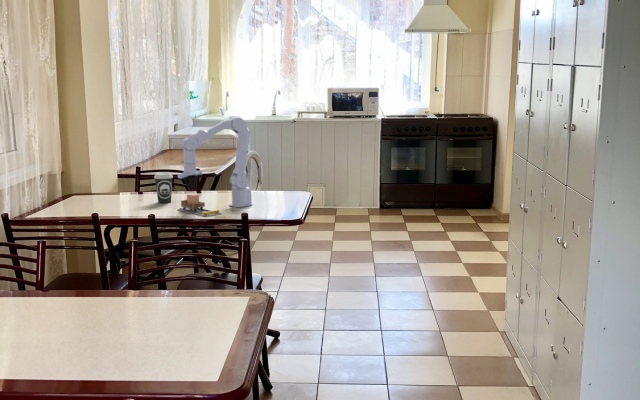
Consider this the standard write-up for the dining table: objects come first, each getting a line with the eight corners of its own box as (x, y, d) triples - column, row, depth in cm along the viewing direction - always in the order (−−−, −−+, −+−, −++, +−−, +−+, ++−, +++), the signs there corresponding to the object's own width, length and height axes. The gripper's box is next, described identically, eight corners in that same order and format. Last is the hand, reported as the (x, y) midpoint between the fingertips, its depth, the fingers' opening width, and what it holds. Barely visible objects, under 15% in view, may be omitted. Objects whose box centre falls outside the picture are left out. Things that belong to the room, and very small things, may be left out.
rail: (192, 207, 336) (192, 204, 336) (221, 214, 321) (221, 210, 320) (177, 210, 330) (177, 206, 330) (206, 216, 314) (206, 213, 314)
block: (194, 203, 331) (193, 193, 330) (199, 204, 328) (198, 194, 327) (187, 205, 328) (186, 194, 327) (192, 206, 325) (191, 195, 324)
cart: (195, 206, 334) (194, 198, 333) (204, 208, 329) (204, 200, 328) (181, 208, 329) (180, 200, 328) (191, 211, 323) (190, 202, 322)
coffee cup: (178, 201, 353) (176, 172, 350) (166, 204, 345) (165, 175, 342) (163, 200, 357) (161, 171, 354) (151, 203, 348) (149, 174, 346)
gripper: (194, 160, 333) (195, 188, 336) (172, 164, 322) (174, 192, 324) (205, 161, 329) (206, 189, 332) (183, 165, 318) (184, 194, 320)
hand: (191, 191), depth 328 cm, fingers closed
